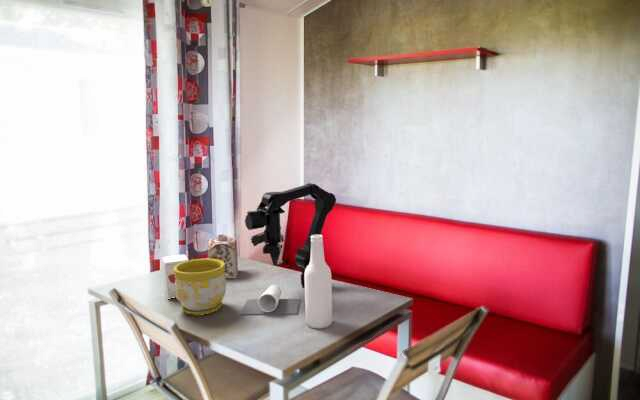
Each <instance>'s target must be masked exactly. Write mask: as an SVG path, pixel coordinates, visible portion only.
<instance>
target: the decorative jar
mask: <svg viewBox="0 0 640 400" xmlns="http://www.w3.org/2000/svg"><path fill="white" fill-rule="evenodd" d="M237 248H238V247H237V240H236V239H235V238H233V237H230V236H228V235H227V234H223V233H222V234H217V235H216V237H215V238H211V239H209V241H208V246H207V252H208V254H207V255H208V257H207V259H217V260H221V261H223V262H224V263H225V268H224V270H225V272H224V275H225V278H229V277H237V278H238V272H239V265H238V250H237ZM229 279H230V278H229Z"/></svg>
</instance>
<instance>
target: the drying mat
mask: <svg viewBox="0 0 640 400" xmlns="http://www.w3.org/2000/svg"><path fill="white" fill-rule="evenodd" d="M258 301H259V298H255V299H254V298H253V299H251V298H250V299H249V298H248V299H247V300H246V301H245V303H244V305H243V307H242V309H241V311H240V313H239V315H240V316H257V315H258V316H263V315H264V316H265V315H266V316H269V315H272V316H273V315H275V316H276V315H278V316H279V315H280V316H281V315H283V316H284V315H290V316H291V315H298V312H299V307H300V304H301V303H300V301H301V298H279V303H278V305H277V307H276V308H275V309H274V310H273V311H271V312H265V311H263V310H261V309H260V307H259V304H258Z"/></svg>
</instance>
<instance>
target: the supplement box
mask: <svg viewBox="0 0 640 400" xmlns="http://www.w3.org/2000/svg"><path fill="white" fill-rule="evenodd" d="M161 260H162V272H163V273H162V274H163V287H164V288H163V290H164V294H166V295H165V296H167V297H166V299H167V298H172V297H177V296H176V291H175V281H176V278H175V274H176V273H174V270H173V269H174V267H175V266H176V265H178V264H180V263H182V262H185V261H189V259H188V256H186V254H184V253H183V254H178V255H177V254H176V255H170V256H169V255H168V256H163V257H162V258H161Z"/></svg>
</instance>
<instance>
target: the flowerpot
mask: <svg viewBox="0 0 640 400" xmlns="http://www.w3.org/2000/svg"><path fill="white" fill-rule="evenodd" d="M224 268H225V263H224V262H223V261H221V260H217V259H209V258H198V259H196V258H195V259H190V260H189V259H188V261H185V262H182V263H180V264H178V265H176V266H175V267H174V269H173V270H174V273H176V274H175V278H176V281H175V291H176V296H177V298H176V299H177V301H178V302H179V303H180V305H181V310H182V311H183V312H185V313H186V314H187V313H189V314H195V315H194V316H202V315H201V314H207V315H210V314H209V313H211V314H213V313H212V312H214V313H215V311H216V312H218V311H219V310H220V308H221V307H222V306H223V302H222V301H223V300H224V298H225V295H226V291H227V281H226V280H227V279H225V275H224V272H225V270H224ZM218 309H219V310H218ZM189 314H188V315H189Z"/></svg>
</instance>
